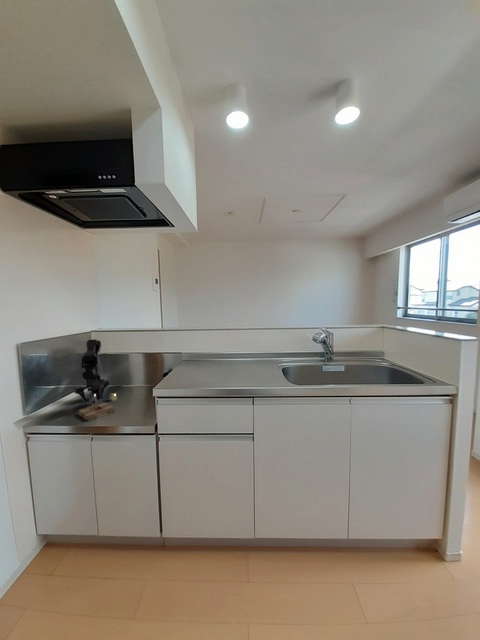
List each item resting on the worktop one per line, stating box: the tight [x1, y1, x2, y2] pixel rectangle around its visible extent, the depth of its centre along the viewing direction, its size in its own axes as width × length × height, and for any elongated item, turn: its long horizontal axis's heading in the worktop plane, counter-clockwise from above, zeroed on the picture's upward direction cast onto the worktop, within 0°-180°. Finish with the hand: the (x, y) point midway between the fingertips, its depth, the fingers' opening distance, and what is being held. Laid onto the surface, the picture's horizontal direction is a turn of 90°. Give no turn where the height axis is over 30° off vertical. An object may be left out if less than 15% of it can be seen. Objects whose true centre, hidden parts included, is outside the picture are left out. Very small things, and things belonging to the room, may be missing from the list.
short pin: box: [109, 392, 118, 402], centre depth 168 cm, size 4×4×4 cm
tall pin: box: [88, 392, 98, 407], centre depth 159 cm, size 4×4×8 cm
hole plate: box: [77, 401, 115, 422], centre depth 150 cm, size 14×14×2 cm
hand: (93, 399), depth 159 cm, fingers open, 9 cm apart
